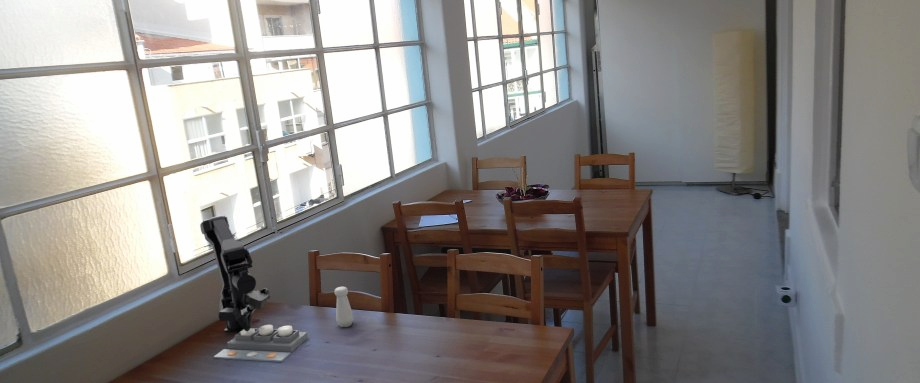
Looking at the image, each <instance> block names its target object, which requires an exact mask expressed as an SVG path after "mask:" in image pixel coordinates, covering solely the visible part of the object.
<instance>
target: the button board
mask: <svg viewBox="0 0 920 383" xmlns="http://www.w3.org/2000/svg"><path fill="white" fill-rule="evenodd" d="M250 329H255V332H254V333H253V334H251V335H250V336H247V335H241V331H240V332H237V333H235V335H234V337H233V338H231V340H229V341H227V342H226V343H227V349H232V350H250V351H269V352H288V353H293V352H294V351H295V350H296V349H297V348H299V346H301V345H302V344H303V343H304V342H305V341H306V340H307V339H309V336H308V331H299V330H298V329H292V330H293V333H292V334H291V335H289V336H285V337H281V336H279V334H278V328H273V330H274V332H273V333H272V334H270V335H266V336H261V335H260V334H259V328H256V327H255V328H253V327H252V328H251V327H250ZM243 330H244V329H243ZM243 330H242V331H243Z"/></svg>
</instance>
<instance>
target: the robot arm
mask: <svg viewBox="0 0 920 383" xmlns="http://www.w3.org/2000/svg"><path fill="white" fill-rule="evenodd" d="M199 226H200V231H201V234H202V235H203V236H204V239H205V241H206V242H208V243H209V244H210V245H211V246H212V249H213V250H212V251H213V254H214V257H215V260H216V261H215V262H216V265H217V268H218V269H217V270H218V272H219V276H220V280H221V284H222V288H221V292H220V293H219V295H220V299H219V303H218V304H219V306H218V307H219V312H218V313H217V319H218V321H219V322H220V321H221V322H225V325H226V328H224V330H223V331H224V332H228V333H229V332H231V333H239V332H240V331H242V330H243V329H244V330H245V331H249V330H250V328H251V326H252V324H251V323H252V317H253V315H254V314H253V313H254V312H255V311H256V310H262V309H263V307H266V306H267V304H268V300H269V299H270V298H271V296H270V291H269V288H267V287H264V288H262V289H261V290H258V289H257V290H255V288H256V286H257V280H256V278H255V277H254V276H253V275H251V273H250V272H249V269H250V268H251V269H252V268H253V260H252V256H251V255H250V251H249V250H248V248H247V247H245V246H244V244H243V243H242V241H239V240H236V239H235V237H234V235H233V232H232V231H231V229H230V224H229V219H228V217H227V216H225V215H217V216H213V217H210V218H209V219H208V218H207V219H203V220H202V222H201V223H199Z"/></svg>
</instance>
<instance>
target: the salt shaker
mask: <svg viewBox="0 0 920 383" xmlns="http://www.w3.org/2000/svg"><path fill="white" fill-rule="evenodd" d="M348 293H349V290H348V288H347V287H346V286H338V287H336V288H334V295H335V297H336V305H335V306H336V307H335V308H336V313H335V321H336V323H337V324H338V325H339V327H341V328H348V327H351V326H352V324H353V322H354V318H355V317H354V314H353V310H352V308H351V304H350V302H349V297H348V296H347V295H348Z"/></svg>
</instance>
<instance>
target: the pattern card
mask: <svg viewBox="0 0 920 383" xmlns="http://www.w3.org/2000/svg"><path fill="white" fill-rule="evenodd" d="M291 353H292V352H282V351H263V350H244V349H228V348H223V349H222V350H221V351H219V352H218V353H217V354H215V355H214V356H213V359H222V360H223V359H225V360H243V361H259V362H276V363H283V362H284V361H285V360H286V359H287V358H288V357H289V356H290V355H291Z"/></svg>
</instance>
